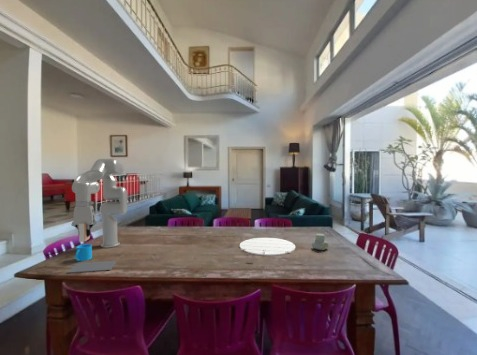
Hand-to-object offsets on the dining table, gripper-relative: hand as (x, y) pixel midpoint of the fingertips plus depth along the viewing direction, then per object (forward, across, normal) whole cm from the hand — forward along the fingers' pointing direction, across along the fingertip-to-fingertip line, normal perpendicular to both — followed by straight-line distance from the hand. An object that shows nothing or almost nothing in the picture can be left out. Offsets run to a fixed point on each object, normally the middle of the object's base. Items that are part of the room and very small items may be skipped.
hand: (84, 235), depth 154 cm
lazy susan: (+19, -112, -17) cm, 115 cm away
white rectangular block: (+2, 0, 0) cm, 2 cm away
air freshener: (+19, -146, -4) cm, 147 cm away
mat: (+18, -4, 0) cm, 19 cm away
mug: (+19, +7, -14) cm, 24 cm away
